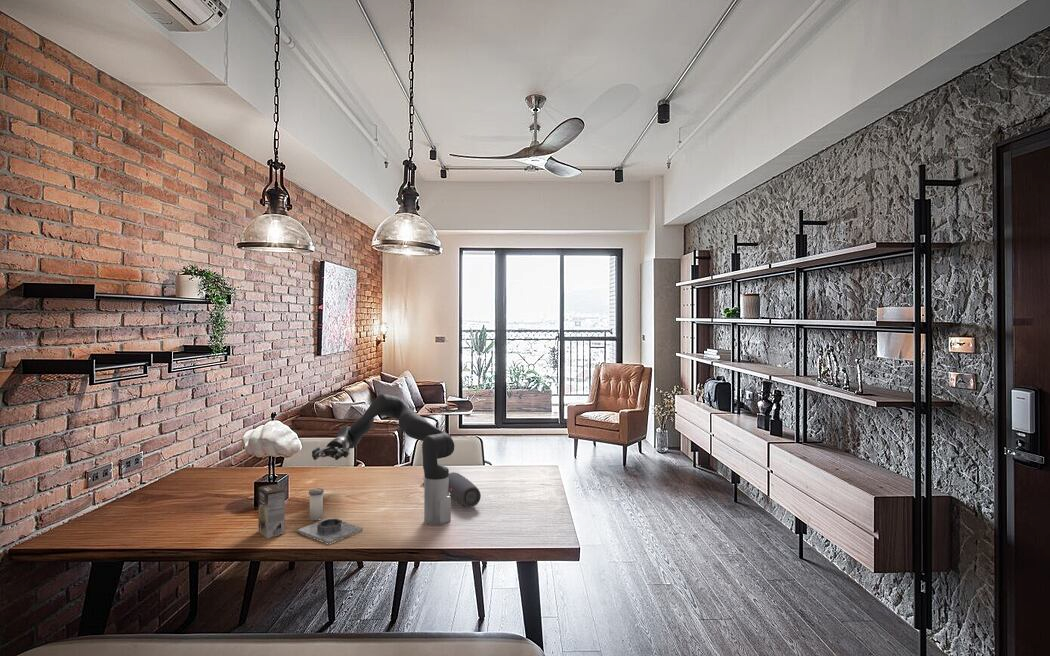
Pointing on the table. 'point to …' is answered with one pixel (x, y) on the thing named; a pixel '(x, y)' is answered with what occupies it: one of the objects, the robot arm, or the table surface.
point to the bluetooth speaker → (463, 490)
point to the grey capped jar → (316, 503)
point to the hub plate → (329, 536)
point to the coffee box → (271, 510)
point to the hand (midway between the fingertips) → (325, 457)
